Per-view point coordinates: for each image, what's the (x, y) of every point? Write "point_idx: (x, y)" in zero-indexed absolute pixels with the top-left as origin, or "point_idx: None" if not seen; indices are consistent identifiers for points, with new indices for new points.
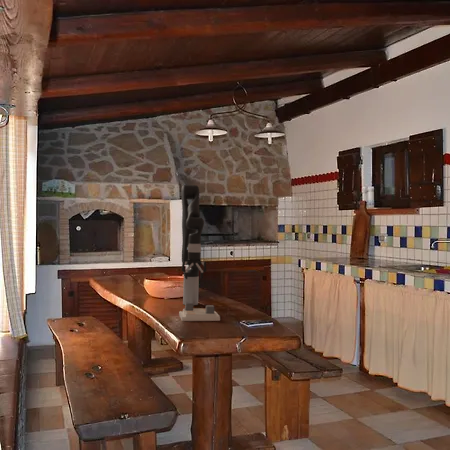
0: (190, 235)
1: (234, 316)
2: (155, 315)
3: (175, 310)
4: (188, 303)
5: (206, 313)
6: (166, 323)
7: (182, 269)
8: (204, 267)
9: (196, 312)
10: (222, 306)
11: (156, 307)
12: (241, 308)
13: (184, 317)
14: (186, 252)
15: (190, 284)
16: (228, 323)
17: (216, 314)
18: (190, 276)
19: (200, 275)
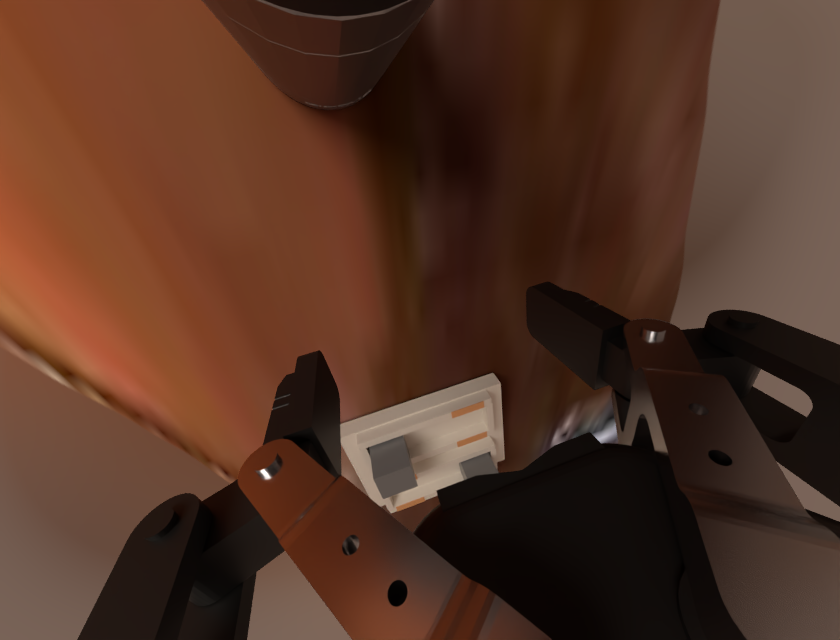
0: None
1: (560, 370)
2: (225, 459)
3: (278, 325)
4: (394, 493)
5: (463, 478)
6: None
7: (199, 625)
8: (783, 461)
9: (425, 473)
10: (569, 105)
11: (73, 256)
12: (654, 168)
13: (384, 503)
14: None
15: (326, 66)
16: (517, 461)
17: (497, 434)
18: (318, 13)
19: (562, 317)
